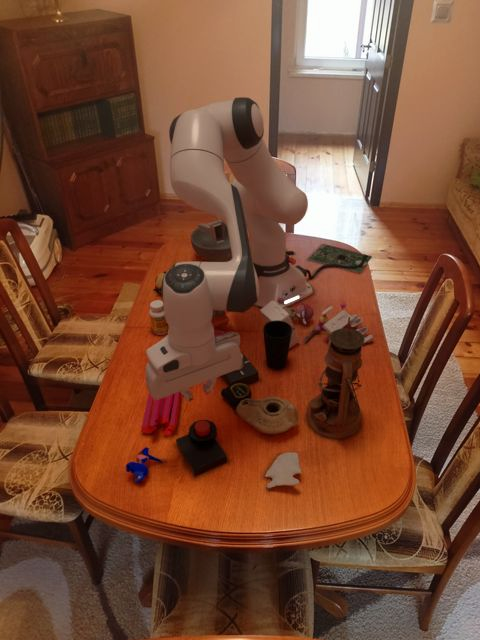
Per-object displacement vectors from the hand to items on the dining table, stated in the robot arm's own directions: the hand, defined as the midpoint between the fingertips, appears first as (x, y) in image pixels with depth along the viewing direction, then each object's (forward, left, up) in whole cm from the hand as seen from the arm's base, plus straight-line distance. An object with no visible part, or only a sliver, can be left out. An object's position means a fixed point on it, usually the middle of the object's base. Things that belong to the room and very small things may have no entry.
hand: (198, 395), depth 103 cm
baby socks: (-57, -14, -13) cm, 60 cm away
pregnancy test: (-52, -18, -12) cm, 56 cm away
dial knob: (-18, -17, -12) cm, 27 cm away
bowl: (-42, -76, -15) cm, 88 cm away
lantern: (-30, +9, -15) cm, 35 cm away
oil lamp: (-15, +3, -15) cm, 22 cm away
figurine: (+12, -2, -12) cm, 18 cm away
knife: (-66, -72, -14) cm, 99 cm away
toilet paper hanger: (-48, -76, -6) cm, 90 cm away
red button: (0, 0, -12) cm, 11 cm away
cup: (-29, -15, -15) cm, 36 cm away
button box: (+2, +3, -15) cm, 16 cm away
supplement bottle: (-7, -46, -15) cm, 49 cm away
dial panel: (-17, -17, -15) cm, 28 cm away
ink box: (-37, -23, -14) cm, 46 cm away
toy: (-21, -69, -14) cm, 73 cm away
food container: (-18, -41, -2) cm, 45 cm away
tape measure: (-12, -7, -15) cm, 21 cm away
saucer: (-15, -30, -15) cm, 37 cm away
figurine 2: (-35, -29, -12) cm, 47 cm away
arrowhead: (-8, +21, -13) cm, 26 cm away
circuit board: (-81, -53, -15) cm, 98 cm away
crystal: (+3, -17, -15) cm, 23 cm away
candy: (-52, -20, -15) cm, 57 cm away
